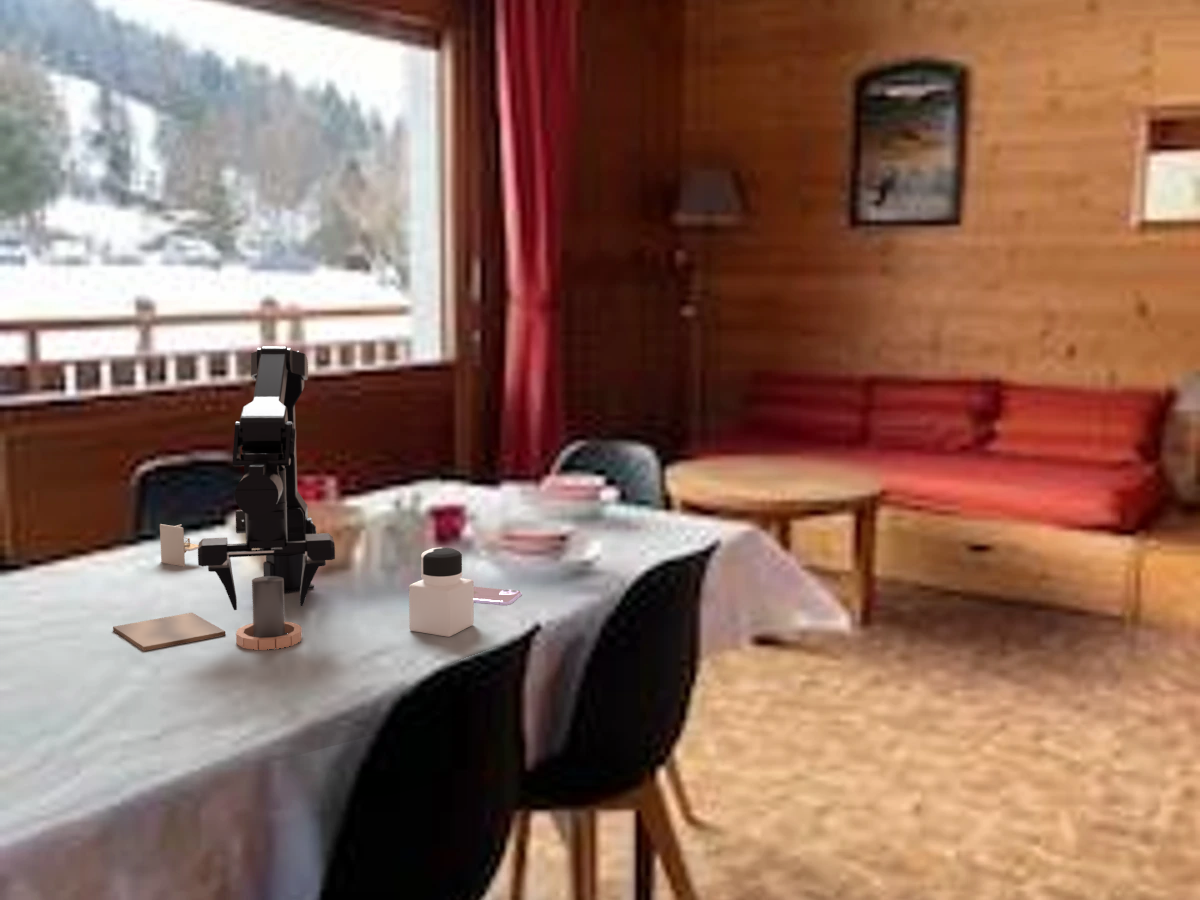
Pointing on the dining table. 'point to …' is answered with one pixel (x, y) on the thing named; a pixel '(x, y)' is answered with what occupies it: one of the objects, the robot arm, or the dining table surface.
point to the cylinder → (268, 606)
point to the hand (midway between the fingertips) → (268, 607)
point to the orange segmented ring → (271, 642)
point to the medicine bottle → (441, 595)
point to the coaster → (168, 631)
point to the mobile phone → (495, 595)
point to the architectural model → (174, 545)
